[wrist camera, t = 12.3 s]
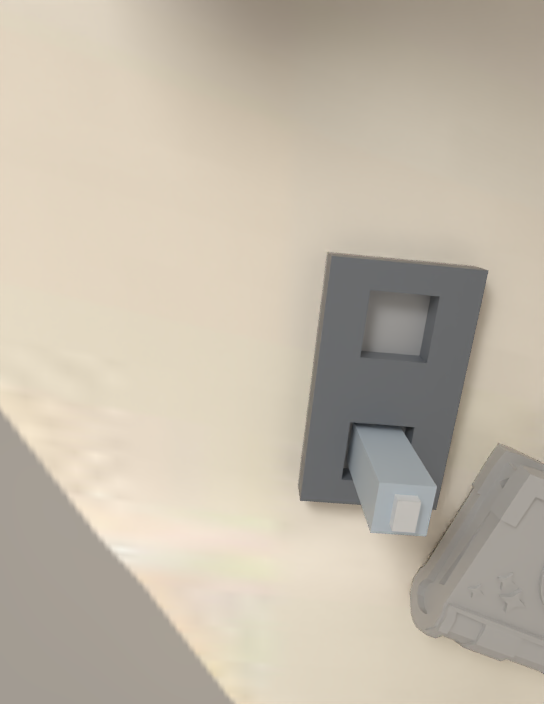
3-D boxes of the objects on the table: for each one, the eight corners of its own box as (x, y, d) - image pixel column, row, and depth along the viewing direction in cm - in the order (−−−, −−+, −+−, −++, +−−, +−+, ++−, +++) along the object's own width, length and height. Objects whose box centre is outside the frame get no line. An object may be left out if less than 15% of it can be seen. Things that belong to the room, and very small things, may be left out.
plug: (352, 420, 44) (382, 489, 34) (398, 423, 44) (441, 493, 34) (346, 461, 45) (372, 540, 35) (390, 464, 46) (429, 543, 35)
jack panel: (327, 252, 40) (331, 255, 38) (474, 266, 41) (488, 270, 39) (297, 484, 46) (300, 500, 44) (426, 493, 47) (435, 509, 45)
